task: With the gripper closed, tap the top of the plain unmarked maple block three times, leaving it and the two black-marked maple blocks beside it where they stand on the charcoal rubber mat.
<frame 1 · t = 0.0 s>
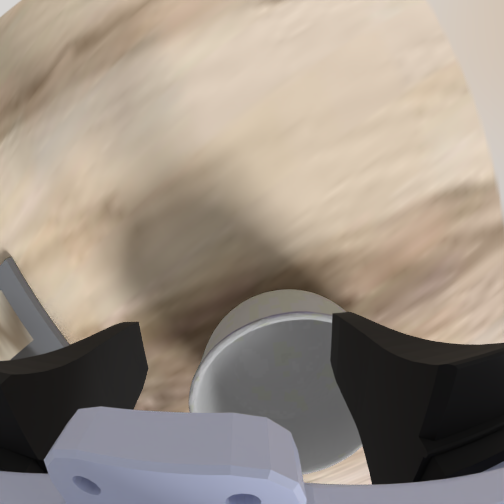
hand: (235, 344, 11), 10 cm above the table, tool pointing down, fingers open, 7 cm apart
teacup: (301, 346, 23), on the table
marked block two: (4, 327, 21), point 1 cm above the table, touching mat
mat: (63, 394, 24), on the table
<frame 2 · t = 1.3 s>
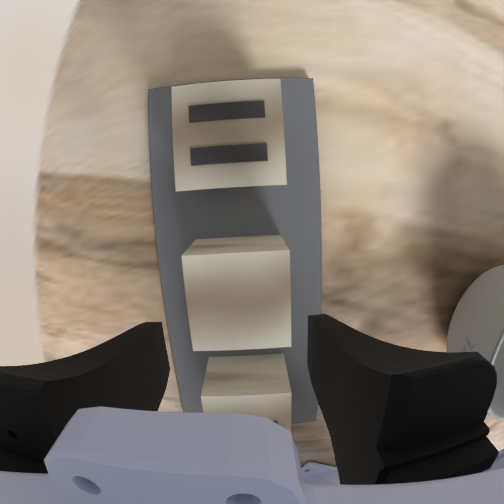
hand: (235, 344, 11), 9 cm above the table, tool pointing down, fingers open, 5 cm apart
marked block one: (248, 385, 22), point 1 cm above the table, touching mat
teacup: (485, 323, 22), on the table
marked block two: (232, 144, 18), point 1 cm above the table, touching mat
mat: (240, 273, 21), on the table
plain block: (240, 277, 20), point 1 cm above the table, touching mat
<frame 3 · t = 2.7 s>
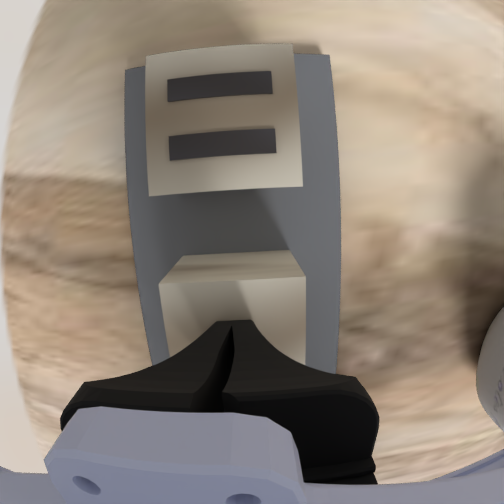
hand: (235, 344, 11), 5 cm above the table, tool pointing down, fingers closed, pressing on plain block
marked block two: (228, 134, 14), point 1 cm above the table, touching mat
mat: (239, 297, 17), on the table
plain block: (239, 303, 16), point 1 cm above the table, touching gripper, mat
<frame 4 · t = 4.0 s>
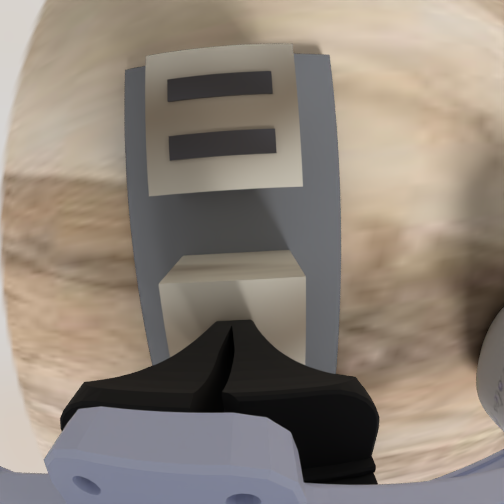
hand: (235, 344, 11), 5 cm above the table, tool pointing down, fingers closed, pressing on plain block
marked block two: (228, 134, 14), point 1 cm above the table, touching mat
mat: (239, 297, 17), on the table
plain block: (239, 303, 16), point 1 cm above the table, touching gripper, mat
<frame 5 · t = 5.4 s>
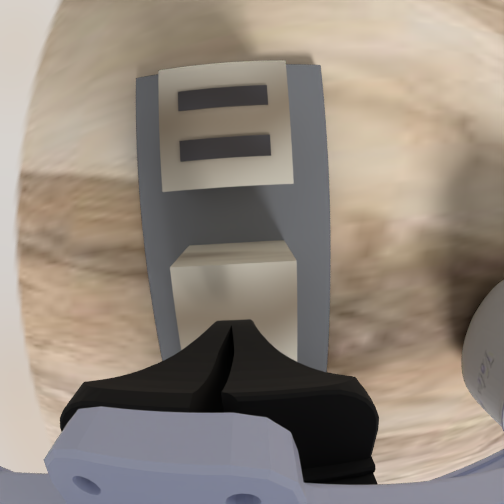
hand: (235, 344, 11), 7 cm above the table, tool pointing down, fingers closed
teacup: (500, 333, 20), on the table
marked block two: (229, 137, 16), point 1 cm above the table, touching mat
mat: (239, 283, 18), on the table
plain block: (239, 288, 18), point 1 cm above the table, touching mat
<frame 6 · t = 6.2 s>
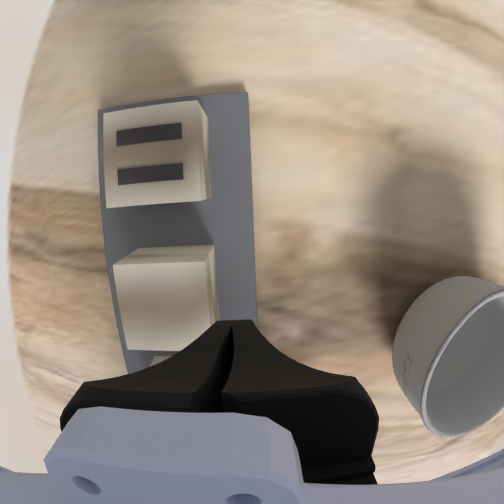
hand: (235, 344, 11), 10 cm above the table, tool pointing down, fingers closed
teacup: (443, 335, 23), on the table
marked block two: (169, 159, 19), point 1 cm above the table, touching mat
mat: (181, 280, 22), on the table
plain block: (178, 283, 21), point 1 cm above the table, touching mat
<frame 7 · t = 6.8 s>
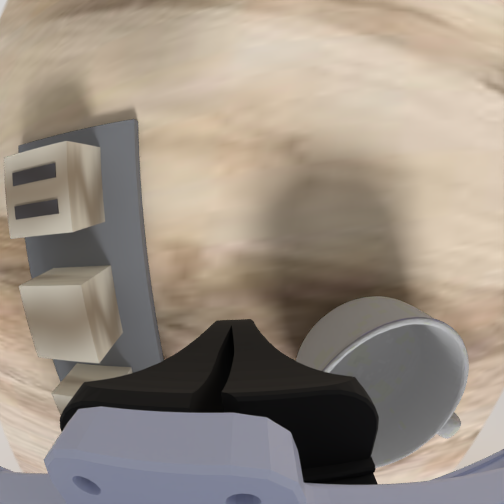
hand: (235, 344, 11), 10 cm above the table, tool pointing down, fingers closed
marked block one: (110, 391, 23), point 1 cm above the table, touching mat
teacup: (367, 356, 24), on the table
marked block two: (71, 188, 20), point 1 cm above the table, touching mat
mat: (91, 296, 22), on the table
plain block: (86, 300, 21), point 1 cm above the table, touching mat
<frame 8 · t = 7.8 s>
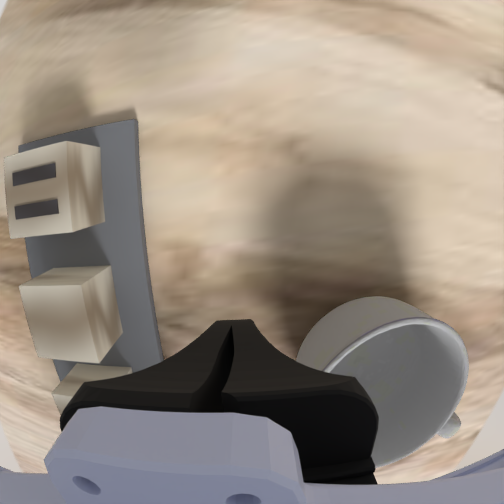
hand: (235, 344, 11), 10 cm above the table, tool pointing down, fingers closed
marked block one: (110, 391, 23), point 1 cm above the table, touching mat
teacup: (367, 356, 24), on the table
marked block two: (71, 188, 20), point 1 cm above the table, touching mat
mat: (91, 296, 22), on the table
plain block: (86, 300, 21), point 1 cm above the table, touching mat
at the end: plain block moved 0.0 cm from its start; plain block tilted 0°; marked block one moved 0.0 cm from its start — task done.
